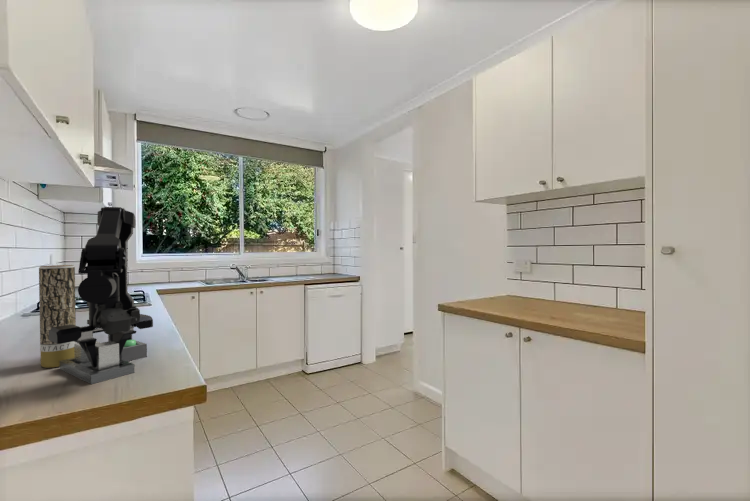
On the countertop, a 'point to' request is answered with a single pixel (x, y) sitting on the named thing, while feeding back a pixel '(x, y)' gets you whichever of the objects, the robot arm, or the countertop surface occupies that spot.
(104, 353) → the block
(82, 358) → the block
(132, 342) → the button
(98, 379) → the rectangular frame
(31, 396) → the countertop surface
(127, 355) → the grey hollow square block
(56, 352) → the paper tube
